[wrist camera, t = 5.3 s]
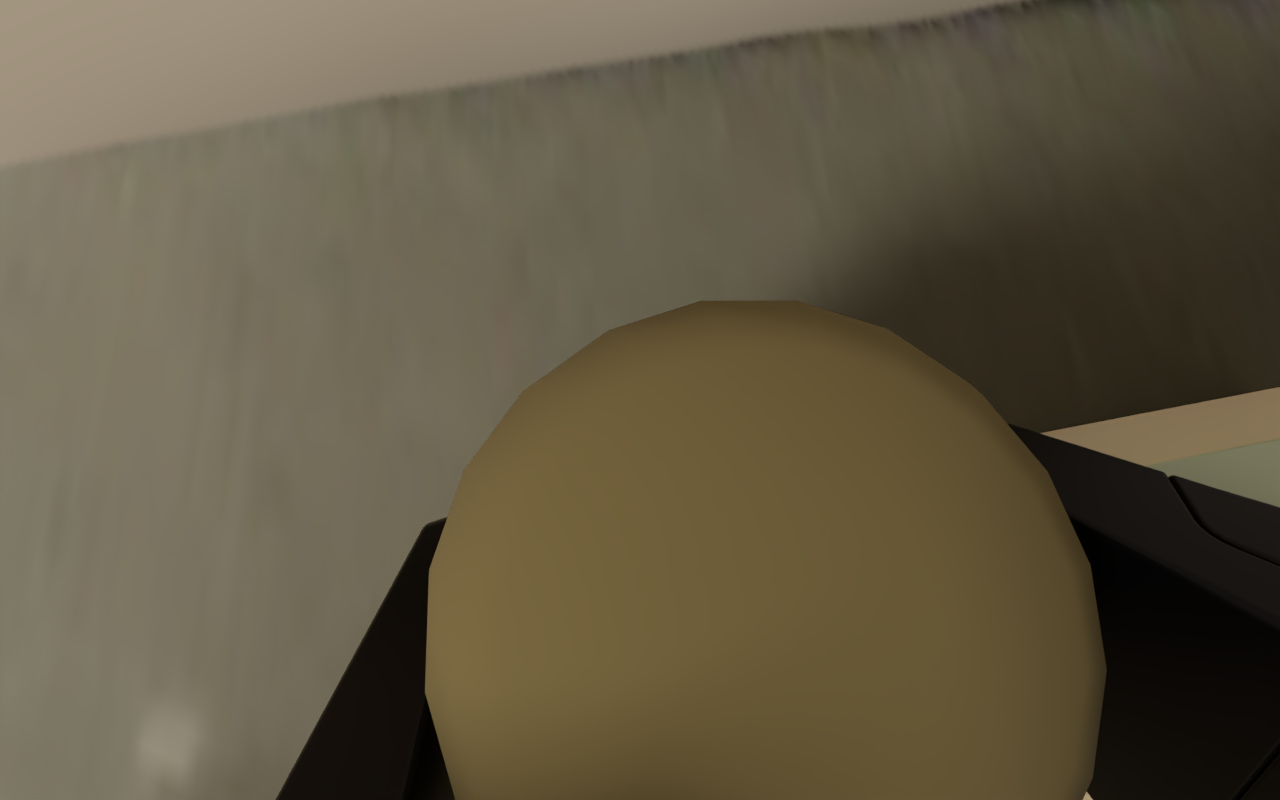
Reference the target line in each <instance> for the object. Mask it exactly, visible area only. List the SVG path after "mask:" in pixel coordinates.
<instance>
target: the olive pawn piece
mask: <svg viewBox="0 0 1280 800" xmlns="http://www.w3.org/2000/svg"><path fill="white" fill-rule="evenodd" d="M1106 673H1107V668H1106V661H1105V655H1104V648H1103V642H1102V636H1101V629H1100V623H1099V616H1098V610H1097V604H1096V597H1095V591H1094V584H1093V578H1092V571H1091V565H1090V563H1089V561H1088V559H1087V556H1086V554H1085V552H1084V550H1083V548H1082V545H1081V543H1080V541H1079V539H1078V537H1077V535H1076V532H1075V530H1074V528H1073V526H1072V524H1071V521H1070V519H1069V517H1068V515H1067V513H1066V511H1065V508H1064V506H1063V504H1062V502H1061V500H1060V497H1059V495H1058V493H1057V491H1056V489H1055V487H1054V484H1053V482H1052V480H1051V478H1050V476H1049V473H1048V471H1047V470H1046V469H1045V468H1044V467H1043V465H1042V464H1041V463H1040V462H1039V461H1038V460H1037V458H1036V457H1035V456H1034V455H1033V454H1032V453H1031V451H1030V450H1029V449H1028V448H1027V447H1026V445H1025V444H1024V443H1023V442H1022V441H1021V440H1020V438H1019V437H1018V436H1017V435H1016V434H1015V432H1014V431H1013V430H1012V429H1011V428H1010V427H1009V425H1008V424H1007V423H1006V422H1005V421H1004V420H1003V418H1002V417H1001V416H1000V415H999V414H998V412H997V411H996V410H995V409H994V408H993V407H992V405H991V404H990V403H989V402H988V401H987V400H986V398H985V397H984V396H983V395H982V394H981V393H980V392H979V391H977V390H976V389H975V388H974V387H973V386H972V385H971V384H969V383H968V382H967V381H965V380H964V379H962V378H961V377H959V376H958V375H956V374H955V373H953V372H952V371H950V370H949V369H947V368H946V367H944V366H943V365H941V364H940V363H938V362H937V361H935V360H934V359H932V358H931V357H929V356H928V355H926V354H925V353H923V352H922V351H920V350H919V349H917V348H916V347H914V346H913V345H911V344H910V343H908V342H907V341H905V340H904V339H902V338H901V337H899V336H898V335H896V334H895V333H893V332H892V331H890V330H889V329H887V328H884V327H880V326H877V325H874V324H870V323H867V322H864V321H861V320H857V319H854V318H851V317H848V316H844V315H841V314H838V313H835V312H831V311H828V310H825V309H822V308H818V307H815V306H812V305H809V304H805V303H802V302H799V301H699V302H696V303H693V304H690V305H687V306H683V307H680V308H677V309H674V310H671V311H668V312H665V313H662V314H658V315H655V316H652V317H649V318H646V319H643V320H640V321H636V322H633V323H630V324H627V325H624V326H621V327H618V328H615V329H611V330H609V331H607V332H606V333H604V334H603V335H601V336H600V337H598V338H597V339H596V340H594V341H593V342H591V343H590V344H589V345H587V346H586V347H584V348H583V349H582V350H580V351H579V352H577V353H576V354H575V355H573V356H572V357H570V358H569V359H568V360H566V361H565V362H563V363H562V364H561V365H559V366H558V367H556V368H555V369H554V370H552V371H551V372H549V373H548V374H547V375H545V376H544V377H542V378H541V379H539V380H538V381H537V382H535V383H534V384H532V385H531V386H530V387H528V388H527V389H525V390H524V391H523V392H522V394H521V395H520V396H519V398H518V399H517V400H516V402H515V403H514V404H513V406H512V407H511V408H510V410H509V411H508V412H507V414H506V415H505V416H504V418H503V419H502V420H501V422H500V423H499V424H498V426H497V427H496V428H495V430H494V431H493V432H492V434H491V435H490V436H489V438H488V439H487V440H486V442H485V443H484V444H483V446H482V447H481V448H480V450H479V451H478V452H477V454H476V455H475V456H474V458H473V459H472V460H471V462H470V463H469V464H468V466H467V467H466V468H465V470H464V472H463V475H462V477H461V480H460V483H459V486H458V489H457V492H456V495H455V497H454V500H453V503H452V506H451V509H450V512H449V514H448V517H447V520H446V523H445V526H444V529H443V532H442V534H441V537H440V540H439V543H438V546H437V549H436V551H435V554H434V557H433V560H432V563H431V566H430V569H429V585H428V615H427V645H426V675H425V694H426V698H427V701H428V705H429V708H430V712H431V715H432V719H433V722H434V726H435V730H436V733H437V737H438V740H439V744H440V747H441V751H442V754H443V758H444V761H445V765H446V769H447V772H448V776H449V779H450V783H451V786H452V790H453V793H454V797H455V800H1083V798H1084V796H1085V794H1086V792H1087V789H1088V787H1089V785H1090V783H1091V781H1092V779H1093V773H1094V765H1095V757H1096V750H1097V742H1098V734H1099V727H1100V719H1101V711H1102V704H1103V696H1104V688H1105V681H1106Z"/></svg>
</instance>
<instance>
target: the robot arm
mask: <svg viewBox="0 0 1280 800" xmlns="http://www.w3.org/2000/svg"><path fill="white" fill-rule="evenodd" d="M1007 424H1008V423H1007ZM1008 425H1009V427H1010V428H1011V429H1012V430H1013V431H1014V432H1015V434H1016V435H1017V436H1018V437H1019V438H1020V440H1021V441H1022V442H1023V443H1024V444H1025V445H1026V447H1027V448H1028V449H1029V450H1030V451H1031V453H1032V454H1033V455H1034V456H1035V457H1036V458H1037V460H1038V461H1039V462H1040V463H1041V464H1042V465H1043V467H1044V468H1045V469H1046V470H1047V471H1048V473H1049V476H1050V478H1051V480H1052V482H1053V484H1054V487H1055V489H1056V491H1057V493H1058V495H1059V497H1060V500H1061V502H1062V504H1063V506H1064V508H1065V511H1066V513H1067V515H1068V517H1069V519H1070V521H1071V524H1072V526H1073V528H1074V530H1075V532H1076V535H1077V537H1078V539H1079V541H1080V543H1081V545H1082V548H1083V550H1084V552H1085V554H1086V556H1087V559H1088V561H1089V563H1090V565H1091V571H1092V578H1093V584H1094V591H1095V597H1096V604H1097V610H1098V616H1099V623H1100V629H1101V636H1102V642H1103V648H1104V655H1105V661H1106V668H1107V673H1106V681H1105V688H1104V696H1103V704H1102V711H1101V719H1100V727H1099V734H1098V742H1097V750H1096V757H1095V765H1094V773H1093V779H1092V781H1091V783H1090V785H1089V787H1088V789H1087V793H1088V794H1089V795H1090V797H1091V798H1092V799H1093V800H1280V507H1278V506H1274V505H1271V504H1267V503H1264V502H1261V501H1257V500H1254V499H1251V498H1247V497H1244V496H1240V495H1237V494H1234V493H1230V492H1227V491H1224V490H1220V489H1217V488H1214V487H1210V486H1207V485H1204V484H1201V483H1198V482H1194V481H1191V480H1188V479H1185V478H1182V477H1179V476H1175V475H1171V476H1169V477H1168V476H1167V475H1166V474H1165V473H1164V472H1162V471H1159V470H1156V469H1152V468H1149V467H1146V466H1143V465H1140V464H1136V463H1133V462H1130V461H1127V460H1124V459H1120V458H1117V457H1114V456H1111V455H1108V454H1104V453H1101V452H1098V451H1095V450H1092V449H1088V448H1085V447H1082V446H1079V445H1076V444H1072V443H1069V442H1066V441H1063V440H1060V439H1056V438H1053V437H1050V436H1047V435H1044V434H1040V433H1037V432H1034V431H1031V430H1028V429H1024V428H1021V427H1018V426H1015V425H1012V424H1008ZM446 520H447V517H446V518H443V519H440V520H437V521H434V522H431V523H428V524H427V525H425V526H424V527H423V529H422V530H421V532H420V534H419V536H418V538H417V540H416V542H415V543H414V545H413V547H412V549H411V551H410V553H409V554H408V556H407V558H406V560H405V562H404V564H403V565H402V567H401V569H400V571H399V573H398V575H397V577H396V578H395V580H394V582H393V584H392V586H391V588H390V589H389V591H388V593H387V595H386V597H385V599H384V601H383V602H382V604H381V606H380V608H379V610H378V612H377V613H376V615H375V617H374V619H373V621H372V623H371V625H370V626H369V628H368V630H367V632H366V634H365V636H364V637H363V639H362V641H361V643H360V645H359V647H358V648H357V650H356V652H355V654H354V656H353V658H352V660H351V661H350V663H349V665H348V667H347V669H346V671H345V672H344V674H343V676H342V678H341V680H340V682H339V684H338V685H337V687H336V689H335V691H334V693H333V695H332V696H331V698H330V700H329V702H328V704H327V706H326V708H325V709H324V711H323V713H322V715H321V717H320V719H319V720H318V722H317V724H316V726H315V728H314V730H313V732H312V733H311V735H310V737H309V739H308V741H307V743H306V744H305V746H304V748H303V750H302V752H301V754H300V755H299V757H298V759H297V761H296V763H295V765H294V767H293V768H292V770H291V772H290V774H289V776H288V778H287V779H286V781H285V783H284V785H283V787H282V789H281V791H280V792H279V794H278V796H277V798H276V800H455V797H454V793H453V790H452V786H451V783H450V779H449V776H448V772H447V769H446V765H445V761H444V758H443V754H442V751H441V747H440V744H439V740H438V737H437V733H436V730H435V726H434V722H433V719H432V715H431V712H430V708H429V705H428V701H427V698H426V694H425V675H426V645H427V615H428V585H429V569H430V566H431V563H432V560H433V557H434V554H435V551H436V549H437V546H438V543H439V540H440V537H441V534H442V532H443V529H444V526H445V523H446Z"/></svg>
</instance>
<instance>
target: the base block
mask: <svg viewBox="0 0 1280 800" xmlns="http://www.w3.org/2000/svg"><path fill="white" fill-rule="evenodd" d="M1040 434H1044V435H1047V436H1050V437H1053V438H1056V439H1060V440H1063V441H1066V442H1069V443H1072V444H1076V445H1079V446H1082V447H1085V448H1088V449H1092V450H1095V451H1098V452H1101V453H1104V454H1108V455H1111V456H1114V457H1117V458H1120V459H1124V460H1127V461H1130V462H1133V463H1136V464H1140V465H1143V466H1146V467H1149V468H1152V469H1156V470H1159V471H1162V472H1164V473H1165V474H1166V475H1167V476H1168V477H1169V476H1171V475H1175V476H1179V477H1182V478H1185V479H1188V480H1191V481H1194V482H1198V483H1201V484H1204V485H1207V486H1210V487H1214V488H1217V489H1220V490H1224V491H1227V492H1230V493H1234V494H1237V495H1240V496H1244V497H1247V498H1251V499H1254V500H1257V501H1261V502H1264V503H1267V504H1271V505H1274V506H1278V507H1280V387H1277V388H1272V389H1267V390H1262V391H1257V392H1251V393H1246V394H1241V395H1236V396H1231V397H1225V398H1220V399H1215V400H1210V401H1205V402H1199V403H1194V404H1189V405H1184V406H1179V407H1174V408H1168V409H1163V410H1158V411H1153V412H1148V413H1142V414H1137V415H1132V416H1127V417H1122V418H1116V419H1111V420H1106V421H1101V422H1096V423H1090V424H1085V425H1080V426H1075V427H1070V428H1064V429H1059V430H1054V431H1049V432H1044V433H1040ZM1083 800H1093V799H1092V798H1091V797H1090V795H1089V794H1088V793H1087V792H1086V794H1085V796H1084V798H1083Z"/></svg>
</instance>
